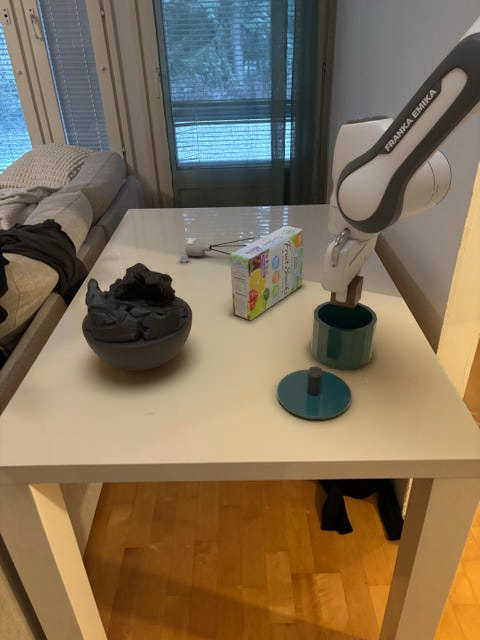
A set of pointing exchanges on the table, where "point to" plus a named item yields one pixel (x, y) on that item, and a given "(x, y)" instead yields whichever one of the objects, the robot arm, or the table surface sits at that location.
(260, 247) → the snack box
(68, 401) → the table surface
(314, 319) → the pot
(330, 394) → the lid
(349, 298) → the block
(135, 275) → the bowl of black rocks
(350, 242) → the robot arm
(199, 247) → the reed diffuser
